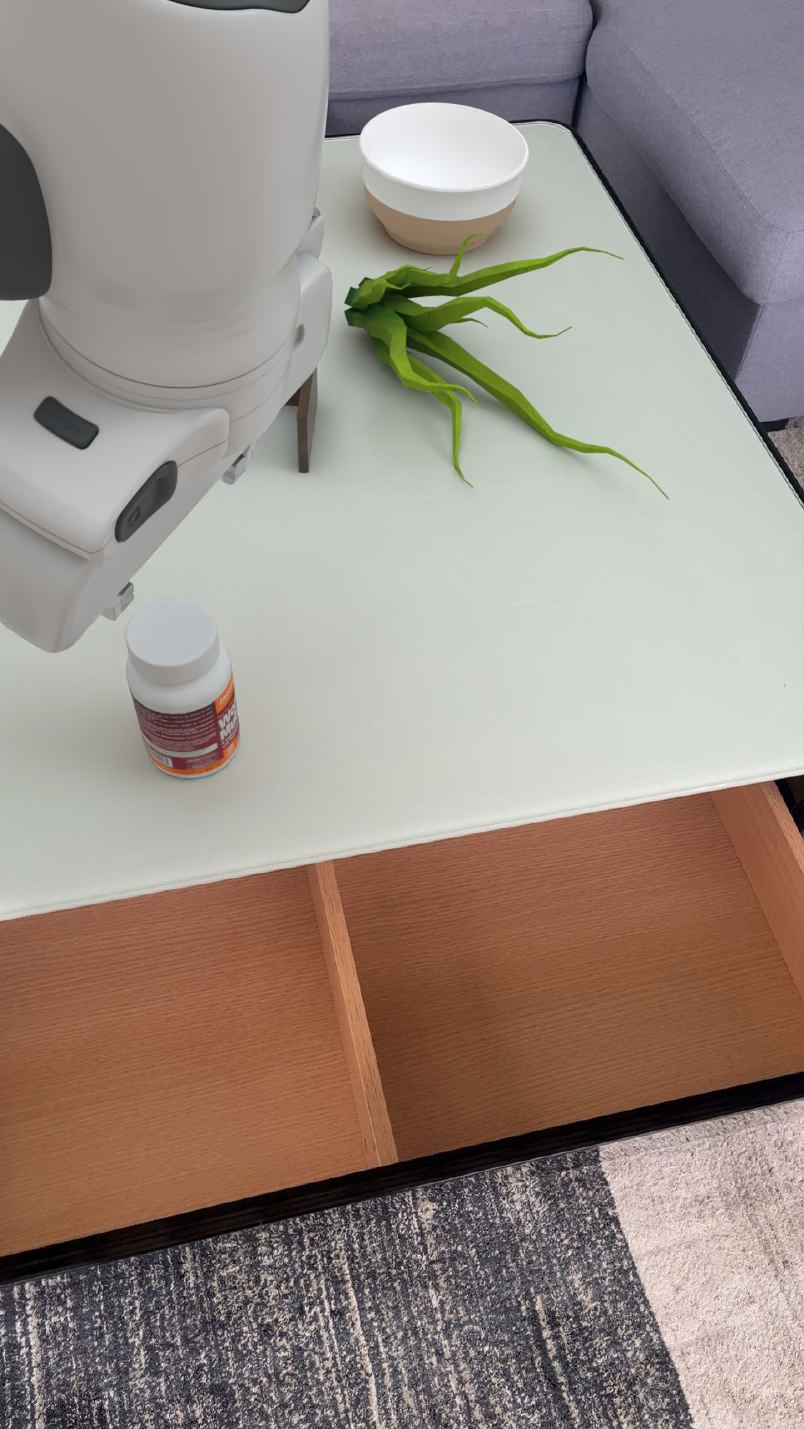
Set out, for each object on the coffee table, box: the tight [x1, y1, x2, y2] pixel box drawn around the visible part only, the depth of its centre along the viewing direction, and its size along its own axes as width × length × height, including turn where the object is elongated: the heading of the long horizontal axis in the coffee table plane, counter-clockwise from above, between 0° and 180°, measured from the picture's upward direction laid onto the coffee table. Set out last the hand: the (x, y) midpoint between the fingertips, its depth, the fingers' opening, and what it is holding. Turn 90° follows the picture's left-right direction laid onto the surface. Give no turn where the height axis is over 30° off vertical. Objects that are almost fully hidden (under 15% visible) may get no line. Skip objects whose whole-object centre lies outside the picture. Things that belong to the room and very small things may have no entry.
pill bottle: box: [124, 596, 241, 779], centre depth 64 cm, size 6×6×11 cm
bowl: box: [358, 102, 530, 256], centre depth 102 cm, size 16×16×8 cm
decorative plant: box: [343, 234, 670, 500], centre depth 83 cm, size 18×30×15 cm, turn 18°
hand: (170, 533), depth 51 cm, fingers open, 8 cm apart
